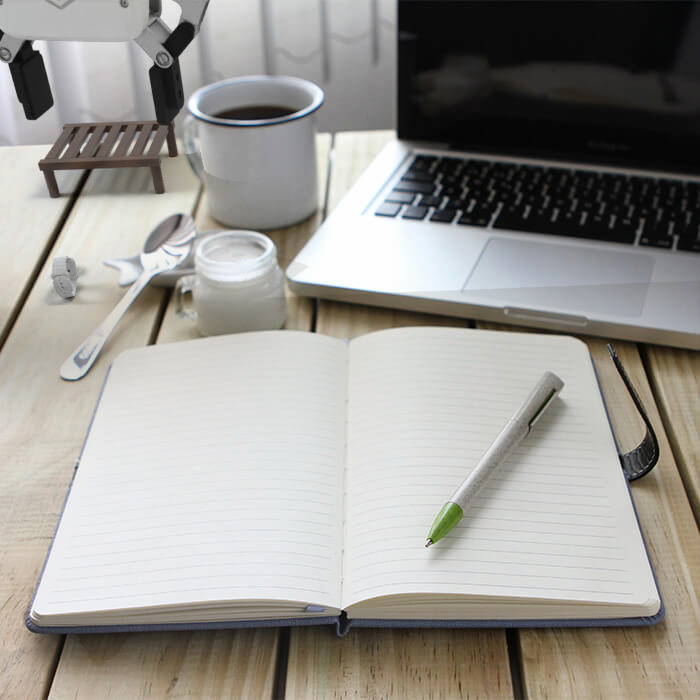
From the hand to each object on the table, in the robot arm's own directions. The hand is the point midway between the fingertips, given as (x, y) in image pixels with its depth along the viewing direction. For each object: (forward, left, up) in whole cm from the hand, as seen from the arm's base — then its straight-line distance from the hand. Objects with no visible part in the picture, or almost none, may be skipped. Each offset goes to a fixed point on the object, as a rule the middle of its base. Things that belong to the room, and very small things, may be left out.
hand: (104, 115), depth 56 cm
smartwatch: (-10, +10, -22) cm, 26 cm away
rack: (-11, +37, -21) cm, 44 cm away
